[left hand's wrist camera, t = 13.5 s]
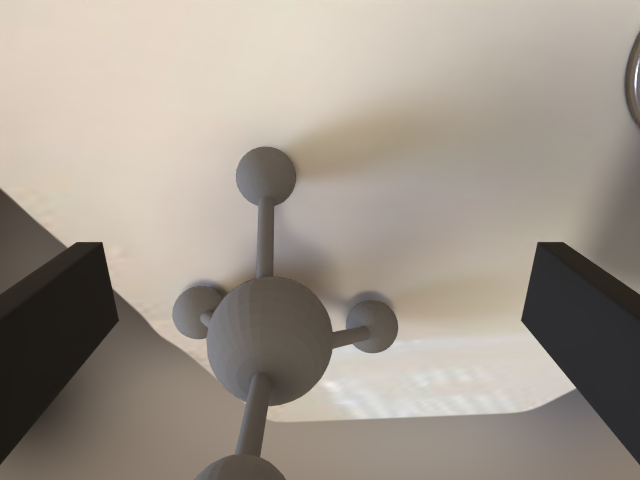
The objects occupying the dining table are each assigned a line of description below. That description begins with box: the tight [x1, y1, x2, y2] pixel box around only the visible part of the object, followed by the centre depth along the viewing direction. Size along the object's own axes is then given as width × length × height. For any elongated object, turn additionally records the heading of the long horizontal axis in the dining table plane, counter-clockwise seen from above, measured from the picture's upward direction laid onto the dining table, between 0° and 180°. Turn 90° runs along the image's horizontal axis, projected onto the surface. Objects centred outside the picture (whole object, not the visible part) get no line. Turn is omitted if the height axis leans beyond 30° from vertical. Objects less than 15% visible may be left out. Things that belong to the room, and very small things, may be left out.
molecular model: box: [173, 147, 398, 480], centre depth 30 cm, size 24×22×30 cm
